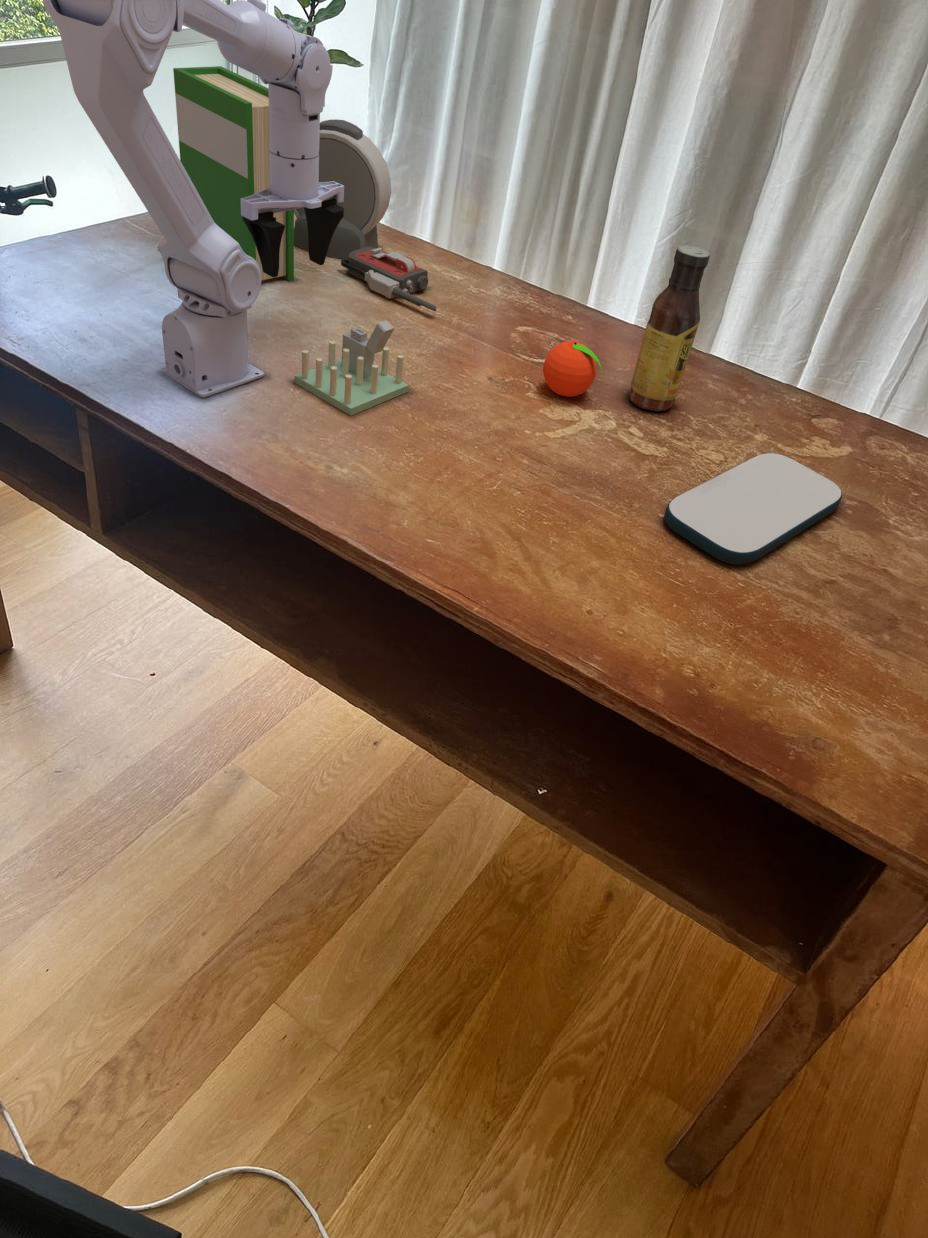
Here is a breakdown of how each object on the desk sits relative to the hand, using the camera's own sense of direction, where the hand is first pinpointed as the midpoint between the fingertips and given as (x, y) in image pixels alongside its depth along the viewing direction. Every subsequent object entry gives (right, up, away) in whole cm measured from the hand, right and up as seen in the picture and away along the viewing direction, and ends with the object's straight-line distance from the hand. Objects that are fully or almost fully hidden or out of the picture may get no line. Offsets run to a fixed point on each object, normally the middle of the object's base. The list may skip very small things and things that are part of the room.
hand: (294, 268), depth 113 cm
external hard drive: (+55, -33, -11) cm, 64 cm away
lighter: (+9, -14, -1) cm, 17 cm away
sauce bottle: (+46, -16, +6) cm, 49 cm away
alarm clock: (+1, +16, +33) cm, 37 cm away
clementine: (+35, -15, +5) cm, 39 cm away
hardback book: (-13, +9, +23) cm, 28 cm away
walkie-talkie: (+11, +6, +23) cm, 26 cm away
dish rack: (+8, -16, -1) cm, 17 cm away
